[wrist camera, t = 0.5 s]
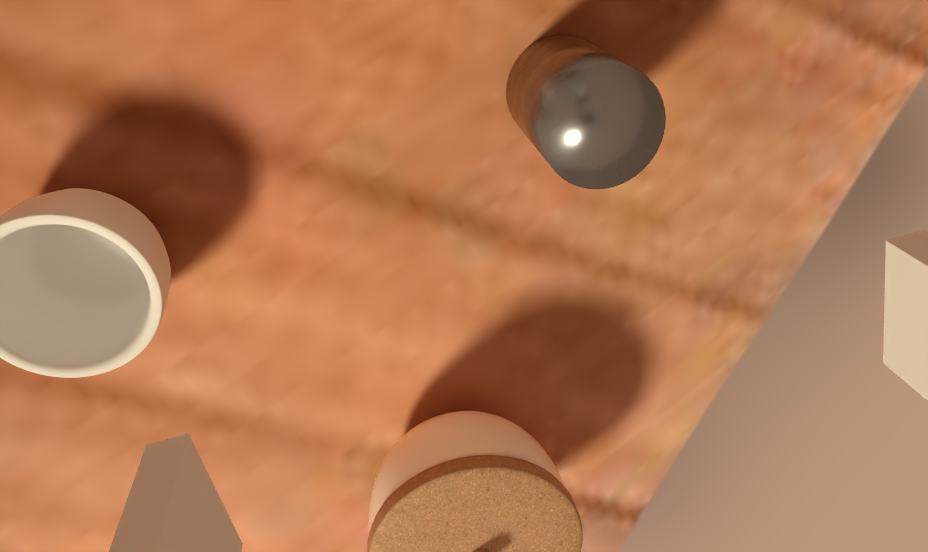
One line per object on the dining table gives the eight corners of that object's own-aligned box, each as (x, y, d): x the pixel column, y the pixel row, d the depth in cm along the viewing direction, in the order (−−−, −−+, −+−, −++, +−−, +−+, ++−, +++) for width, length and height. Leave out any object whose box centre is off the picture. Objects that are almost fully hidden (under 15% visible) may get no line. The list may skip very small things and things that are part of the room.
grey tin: (495, 51, 36) (529, 84, 29) (600, 21, 36) (656, 47, 30) (518, 153, 38) (555, 204, 32) (617, 124, 38) (672, 169, 32)
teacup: (148, 151, 35) (119, 191, 31) (207, 297, 39) (189, 353, 34) (-74, 204, 35) (-138, 253, 30) (6, 346, 38) (-41, 411, 34)
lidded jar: (456, 552, 49) (482, 688, 40) (323, 468, 44) (320, 600, 36) (582, 442, 46) (637, 562, 38) (454, 341, 42) (484, 452, 34)
